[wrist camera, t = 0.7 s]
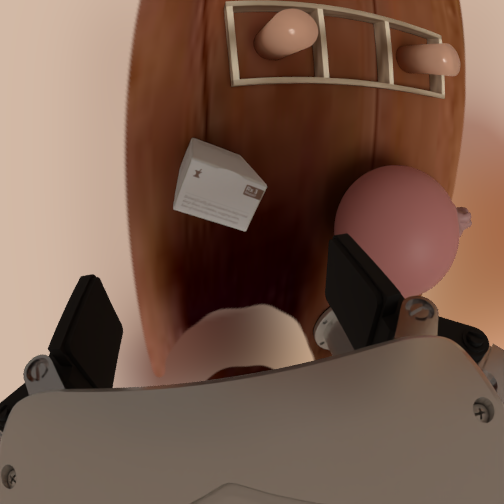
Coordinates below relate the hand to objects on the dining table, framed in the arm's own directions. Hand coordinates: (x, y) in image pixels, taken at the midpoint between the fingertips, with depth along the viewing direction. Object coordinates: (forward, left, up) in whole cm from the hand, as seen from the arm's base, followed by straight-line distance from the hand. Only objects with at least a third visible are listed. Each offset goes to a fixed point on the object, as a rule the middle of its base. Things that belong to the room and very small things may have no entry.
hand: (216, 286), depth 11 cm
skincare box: (0, -1, -23) cm, 23 cm away
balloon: (-8, -23, -23) cm, 33 cm away
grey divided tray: (+13, -18, -22) cm, 31 cm away
